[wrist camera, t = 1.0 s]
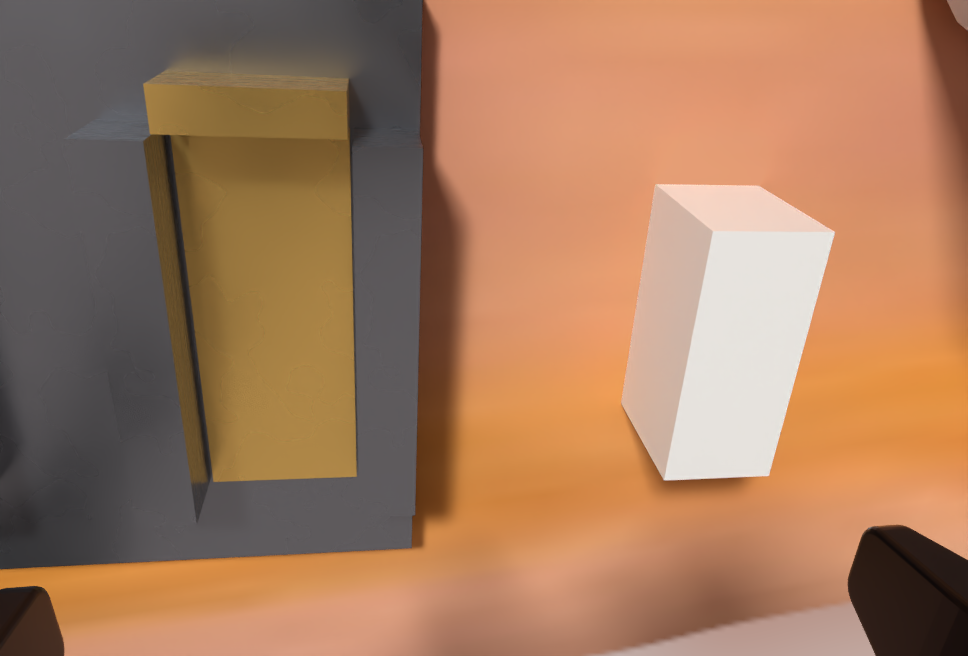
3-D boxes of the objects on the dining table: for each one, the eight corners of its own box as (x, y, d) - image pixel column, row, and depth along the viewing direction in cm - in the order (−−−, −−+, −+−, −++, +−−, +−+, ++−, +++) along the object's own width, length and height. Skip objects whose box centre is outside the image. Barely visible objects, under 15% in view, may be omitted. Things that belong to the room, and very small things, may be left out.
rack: (409, 526, 25) (414, 596, 22) (-24, 546, 23) (-77, 626, 20) (420, -11, 18) (428, -4, 15) (-208, -47, 16) (-328, -46, 13)
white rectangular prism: (710, 398, 24) (768, 476, 21) (619, 401, 24) (663, 480, 20) (756, 184, 21) (835, 232, 18) (653, 182, 21) (713, 231, 17)
